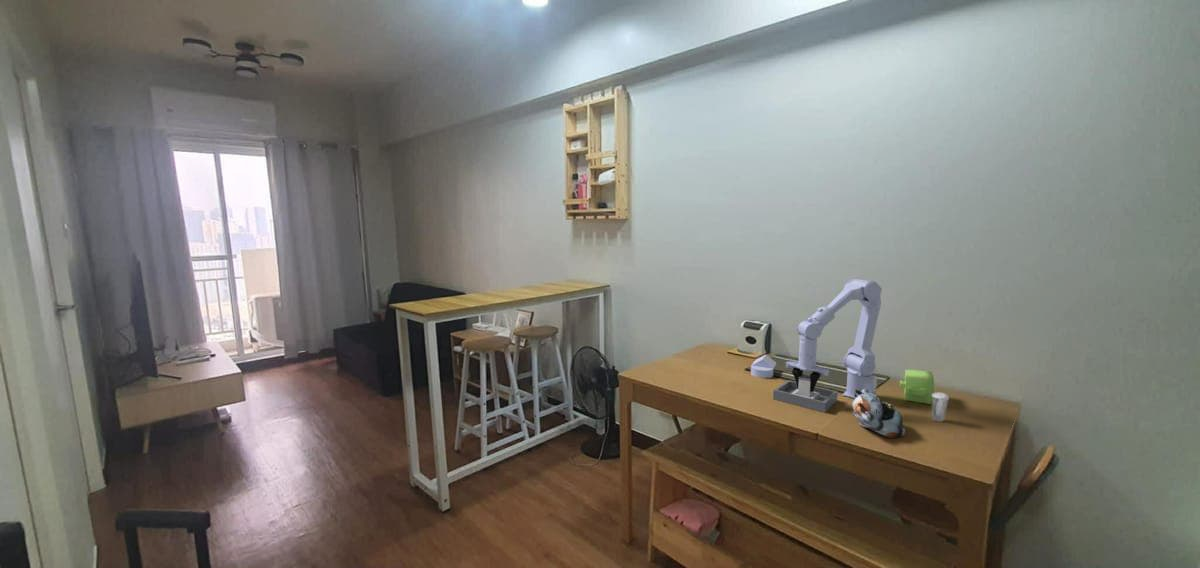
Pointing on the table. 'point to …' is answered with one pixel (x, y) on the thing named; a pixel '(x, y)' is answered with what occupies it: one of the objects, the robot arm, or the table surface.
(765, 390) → the table surface
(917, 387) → the gearbox
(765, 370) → the wedge on round base
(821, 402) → the housing
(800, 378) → the block
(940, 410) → the milkshake
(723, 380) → the table surface
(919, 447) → the table surface
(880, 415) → the lucky cat figurine
